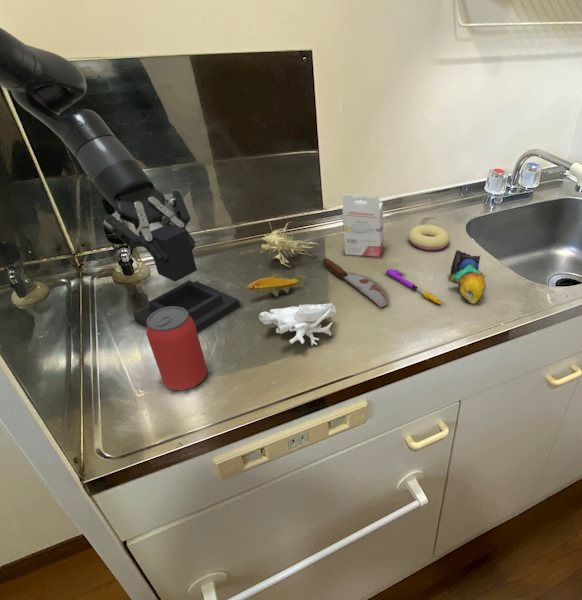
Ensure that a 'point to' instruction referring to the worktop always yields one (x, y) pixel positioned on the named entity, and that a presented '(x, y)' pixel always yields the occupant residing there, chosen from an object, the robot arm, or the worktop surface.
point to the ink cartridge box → (362, 225)
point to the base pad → (192, 304)
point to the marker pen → (410, 284)
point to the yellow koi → (276, 284)
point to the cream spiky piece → (282, 244)
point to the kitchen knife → (359, 283)
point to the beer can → (176, 348)
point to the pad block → (174, 252)
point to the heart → (300, 320)
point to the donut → (429, 237)
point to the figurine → (468, 276)
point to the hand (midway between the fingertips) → (179, 254)
